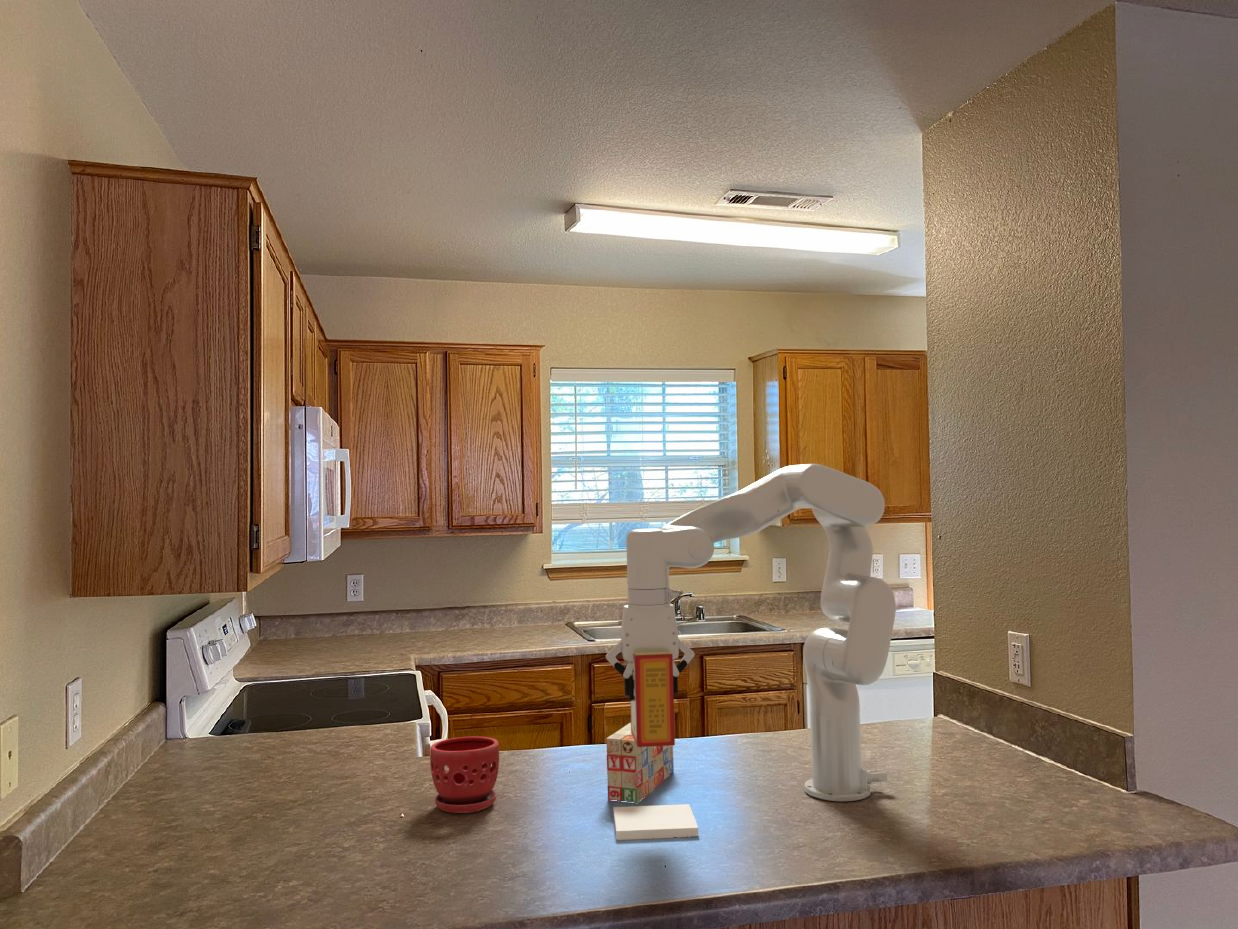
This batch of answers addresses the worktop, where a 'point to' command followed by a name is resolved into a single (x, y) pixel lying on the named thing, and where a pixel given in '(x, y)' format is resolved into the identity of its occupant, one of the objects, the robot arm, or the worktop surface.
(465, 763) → the plant pot
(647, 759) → the stack of blocks
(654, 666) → the baking soda box
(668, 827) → the cutting board
